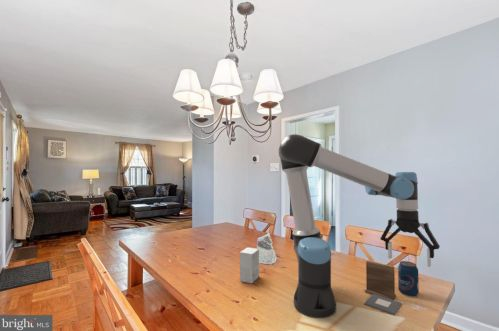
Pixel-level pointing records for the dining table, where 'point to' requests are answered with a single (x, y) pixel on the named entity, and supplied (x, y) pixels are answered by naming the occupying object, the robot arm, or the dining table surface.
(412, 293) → the soda can
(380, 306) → the pad
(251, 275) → the small box
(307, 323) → the dining table surface
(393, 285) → the walnut screen
